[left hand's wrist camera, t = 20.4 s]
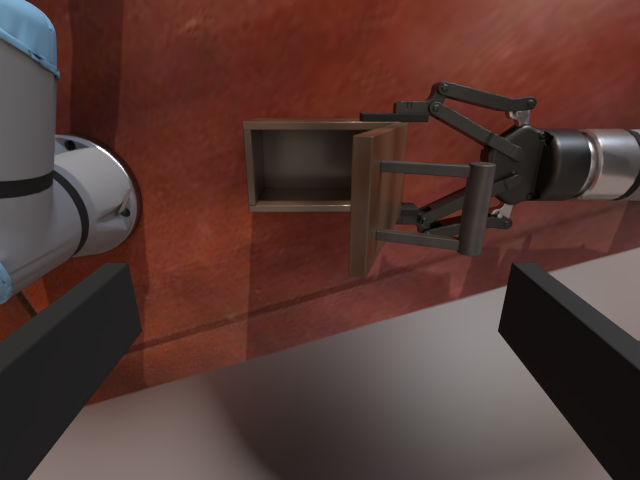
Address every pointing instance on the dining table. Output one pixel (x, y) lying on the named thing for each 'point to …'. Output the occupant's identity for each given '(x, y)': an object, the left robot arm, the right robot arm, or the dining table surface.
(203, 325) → the dining table surface
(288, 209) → the chest
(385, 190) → the lid
